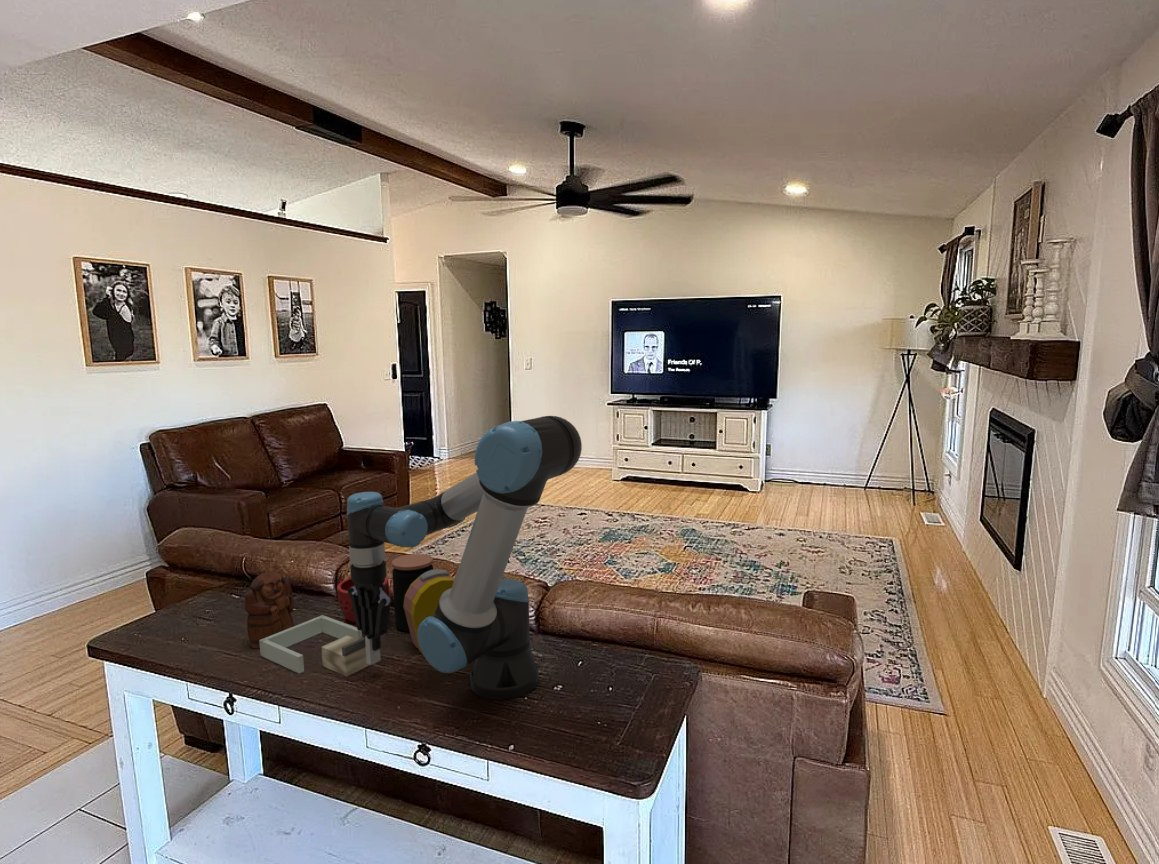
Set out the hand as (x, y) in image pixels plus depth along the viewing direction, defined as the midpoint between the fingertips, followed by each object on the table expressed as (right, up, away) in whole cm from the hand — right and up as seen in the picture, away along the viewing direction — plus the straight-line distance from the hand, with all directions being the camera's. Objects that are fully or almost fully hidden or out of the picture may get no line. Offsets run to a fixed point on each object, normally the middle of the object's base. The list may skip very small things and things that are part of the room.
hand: (373, 661), depth 149 cm
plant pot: (-11, 0, +28) cm, 31 cm away
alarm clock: (+11, -1, +17) cm, 20 cm away
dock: (-19, -2, +13) cm, 23 cm away
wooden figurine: (-32, -2, +20) cm, 37 cm away
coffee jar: (+3, 0, +27) cm, 28 cm away
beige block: (-8, -3, +6) cm, 10 cm away
